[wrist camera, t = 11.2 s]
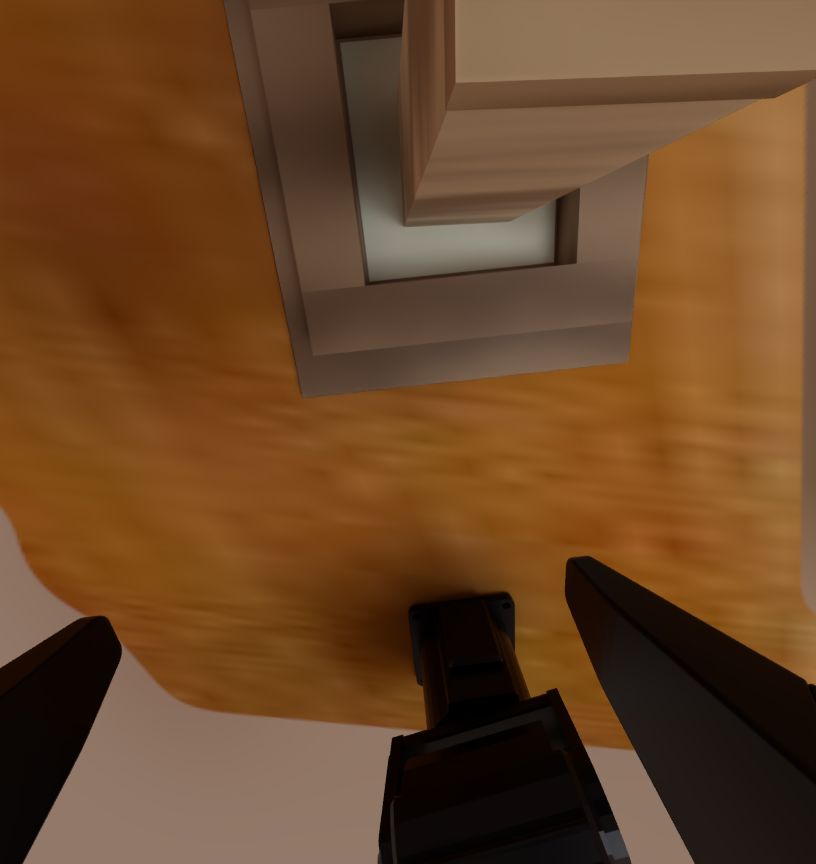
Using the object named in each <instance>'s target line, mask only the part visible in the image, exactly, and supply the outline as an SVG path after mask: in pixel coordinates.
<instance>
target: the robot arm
mask: <svg viewBox="0 0 816 864" xmlns="http://www.w3.org/2000/svg"><path fill="white" fill-rule="evenodd" d="M565 597H566V601H567V604H568V606H569V609H570V611H571V614H572V616H573V619H574V621H575V624H576V626H577V628H578V631H579V633H580V636H581V638H582V641H583V643H584V646H585V648H586V651H587V653H588V655H589V658H590V660H591V663H592V665H593V668H594V670H595V672H596V675H597V677H598V679H599V682H600V684H601V686H602V688H603V690H604V692H605V694H606V696H607V698H608V700H609V701H610V703H611V705H612V707H613V709H614V711H615V713H616V715H617V717H618V719H619V720H620V722H621V724H622V726H623V728H624V730H625V732H626V734H627V736H628V738H629V739H630V741H631V743H632V745H633V747H634V749H635V751H636V753H637V755H638V757H639V758H640V760H641V762H642V764H643V766H644V768H645V770H646V772H647V774H648V776H649V777H650V779H651V781H652V783H653V785H654V787H655V788H656V791H657V792H658V795H659V796H660V798H661V800H662V802H663V804H664V806H665V808H666V810H667V812H668V814H669V815H670V817H671V819H672V821H673V823H674V825H675V827H676V829H677V831H678V833H679V834H680V836H681V838H682V840H683V842H684V844H685V846H686V848H687V850H688V851H689V853H690V855H691V857H692V859H693V861H694V863H695V864H816V686H815V685H814V684H807V682H806V681H805V680H804V679H803V678H801V677H799V676H798V675H796V674H794V673H792V672H791V671H789V670H787V669H785V668H784V667H782V666H780V665H779V664H777V663H775V662H773V661H772V660H770V659H768V658H766V657H765V656H763V655H761V654H759V653H758V652H756V651H754V650H752V649H751V648H749V647H747V646H745V645H744V644H742V643H740V642H738V641H737V640H735V639H733V638H731V637H730V636H728V635H726V634H725V633H723V632H721V631H719V630H718V629H716V628H714V627H712V626H711V625H709V624H707V623H705V622H704V621H702V620H700V619H698V618H697V617H695V616H693V615H691V614H690V613H688V612H686V611H684V610H683V609H681V608H679V607H678V606H676V605H674V604H672V603H671V602H669V601H667V600H665V599H664V598H662V597H660V596H658V595H657V594H655V593H653V592H651V591H650V590H648V589H646V588H644V587H643V586H641V585H639V584H637V583H636V582H634V581H632V580H631V579H629V578H627V577H625V576H624V575H622V574H620V573H618V572H617V571H615V570H613V569H611V568H610V567H608V566H606V565H604V564H603V563H601V562H599V561H597V560H596V559H594V558H592V557H590V556H580V557H572V558H569V559H568V560H567V563H566V577H565ZM506 602H508V603H506ZM504 603H506V604H504ZM416 613H419V614H418V615H415V614H416ZM408 614H409V623H410V631H411V639H412V647H413V655H414V662H415V670H416V678H417V683H418V684H419V685H420V686H423V692H424V702H425V712H426V722H427V730H424V731H420V732H417V733H414V734H410V735H407V736H403V735H400V736H397V737H393V738H392V743H391V751H390V756H389V759H388V767H387V775H386V783H385V791H384V799H383V807H382V815H381V823H380V831H379V854H378V864H631V861H630V857H629V854H628V852H627V850H626V846H625V843H624V841H623V838H622V835H621V833H620V830H619V828H618V825H617V822H616V820H615V817H614V815H613V812H612V810H611V807H610V805H609V802H608V800H607V798H606V795H605V793H604V790H603V788H602V786H601V783H600V781H599V779H598V776H597V774H596V772H595V769H594V767H593V765H592V763H591V761H590V758H589V757H588V754H587V752H586V750H585V748H584V746H583V743H582V741H581V739H580V737H579V735H578V733H577V731H576V728H575V726H574V724H573V722H572V720H571V718H570V716H569V714H568V711H567V709H566V707H565V705H564V703H563V701H562V699H561V696H560V694H559V692H558V690H557V688H555V689H551V690H548V691H546V692H547V693H546V694H542V695H539V696H536V697H533V698H531V697H530V694H529V691H528V688H527V686H526V683H525V680H524V677H523V675H522V672H521V669H520V666H519V663H518V661H517V658H516V655H515V604H514V601H513V599H512V597H511V596H510V595H508V594H503V595H495V596H487V597H479V598H471V599H463V600H454V601H446V602H438V603H430V604H422V605H415V606H412V607H411V608H410V609H409V612H408ZM121 654H122V647H121V644H120V642H119V640H118V638H117V635H116V633H115V631H114V629H113V627H112V625H111V623H110V621H109V619H108V618H106V617H105V616H91V617H84V618H80V619H78V620H76V621H74V622H73V623H71V624H70V625H68V626H66V627H65V628H63V629H62V630H60V631H59V632H57V633H55V634H54V635H52V636H51V637H49V638H47V639H46V640H44V641H43V642H41V643H39V644H38V645H36V646H35V647H33V648H32V649H30V650H28V651H27V652H25V653H24V654H22V655H21V656H19V657H17V658H16V659H14V660H12V661H11V662H9V663H8V664H6V665H5V666H3V667H1V668H0V864H23V862H24V860H25V859H26V857H27V855H28V853H29V851H30V849H31V847H32V845H33V843H34V841H35V839H36V837H37V836H38V833H39V832H40V830H41V828H42V826H43V824H44V822H45V820H46V818H47V816H48V814H49V812H50V811H51V809H52V807H53V805H54V803H55V801H56V799H57V797H58V795H59V793H60V791H61V789H62V788H63V785H64V784H65V782H66V779H67V778H68V776H69V774H70V772H71V770H72V768H73V766H74V764H75V762H76V760H77V758H78V756H79V754H80V752H81V750H82V748H83V746H84V744H85V742H86V739H87V737H88V735H89V733H90V730H91V728H92V726H93V723H94V721H95V718H96V716H97V713H98V711H99V709H100V707H101V704H102V702H103V700H104V697H105V695H106V693H107V690H108V688H109V685H110V683H111V681H112V678H113V676H114V674H115V671H116V669H117V667H118V664H119V662H120V659H121Z"/></svg>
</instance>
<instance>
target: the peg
mask: <svg viewBox="0 0 816 864" xmlns="http://www.w3.org/2000/svg"><path fill="white" fill-rule="evenodd" d="M814 79H816V0H405V3H404V16H403V29H402V42H401V54H400V67H399V80H398V93H397V100H398V120H399V140H400V161H401V181H402V201H403V221H404V227H419V226H439V225H459V224H479V223H499V222H510V221H512V220H514V219H516V218H518V217H520V216H522V215H525V214H527V213H529V212H531V211H533V210H535V209H537V208H539V207H541V206H543V205H545V204H547V203H549V202H551V201H553V200H555V199H557V198H559V197H561V196H563V195H566V194H568V193H570V192H572V191H574V190H576V189H578V188H580V187H582V186H584V185H586V184H588V183H590V182H592V181H594V180H596V179H598V178H600V177H602V176H605V175H607V174H609V173H611V172H613V171H615V170H617V169H619V168H621V167H623V166H625V165H627V164H629V163H631V162H633V161H635V160H637V159H639V158H641V157H643V156H646V155H648V154H650V153H652V152H654V151H656V150H658V149H660V148H662V147H664V146H666V145H668V144H670V143H672V142H674V141H676V140H678V139H680V138H682V137H684V136H687V135H689V134H691V133H693V132H695V131H697V130H699V129H701V128H703V127H705V126H707V125H709V124H711V123H713V122H715V121H717V120H719V119H721V118H723V117H725V116H728V115H730V114H732V113H734V112H736V111H738V110H740V109H742V108H744V107H746V106H748V105H750V104H752V103H754V102H756V101H758V100H760V99H767V98H776V97H778V96H780V95H782V94H784V93H786V92H788V91H791V90H793V89H795V88H797V87H799V86H801V85H803V84H805V83H808V82H810V81H812V80H814Z"/></svg>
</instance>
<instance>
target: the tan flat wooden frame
mask: <svg viewBox="0 0 816 864" xmlns="http://www.w3.org/2000/svg"><path fill="white" fill-rule="evenodd" d="M223 2H224V7H225V12H226V17H227V22H228V27H229V32H230V37H231V42H232V47H233V52H234V57H235V62H236V67H237V72H238V77H239V82H240V87H241V92H242V97H243V102H244V107H245V112H246V117H247V122H248V127H249V132H250V137H251V142H252V147H253V152H254V157H255V162H256V167H257V172H258V177H259V182H260V187H261V192H262V197H263V202H264V207H265V212H266V217H267V222H268V227H269V232H270V237H271V242H272V247H273V252H274V257H275V262H276V267H277V272H278V277H279V282H280V287H281V292H282V297H283V302H284V307H285V312H286V317H287V322H288V327H289V332H290V337H291V342H292V347H293V352H294V357H295V362H296V367H297V372H298V377H299V382H300V387H301V392H302V397H303V398H309V397H318V396H327V395H336V394H345V393H354V392H363V391H372V390H381V389H390V388H399V387H408V386H417V385H426V384H435V383H444V382H453V381H462V380H471V379H480V378H489V377H498V376H507V375H516V374H525V373H534V372H543V371H552V370H561V369H570V368H579V367H588V366H598V365H607V364H616V363H625V362H628V358H629V348H630V338H631V328H632V318H633V308H634V298H635V288H636V278H637V268H638V258H639V248H640V238H641V227H642V217H643V207H644V197H645V187H646V177H647V167H648V157H649V154H648V155H646V156H643V157H641V158H639V159H637V160H635V161H633V162H631V163H629V164H627V165H625V166H623V167H621V168H619V169H617V170H615V171H613V172H611V173H609V174H607V175H605V176H602V177H600V178H598V179H596V180H594V181H592V182H590V183H588V184H586V185H584V186H582V187H580V188H578V189H576V190H574V191H572V192H570V193H568V194H566V195H563V196H561V197H559V198H557V199H555V200H553V201H551V202H549V203H547V204H545V205H543V206H541V207H539V208H537V209H535V210H533V211H531V212H529V213H527V214H525V215H522V216H520V217H518V218H516V219H514V220H512V221H510V222H499V223H479V224H459V225H439V226H419V227H404V221H403V201H402V181H401V161H400V140H399V120H398V100H397V93H398V80H399V67H400V54H401V42H402V29H403V16H404V3H405V0H223Z"/></svg>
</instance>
